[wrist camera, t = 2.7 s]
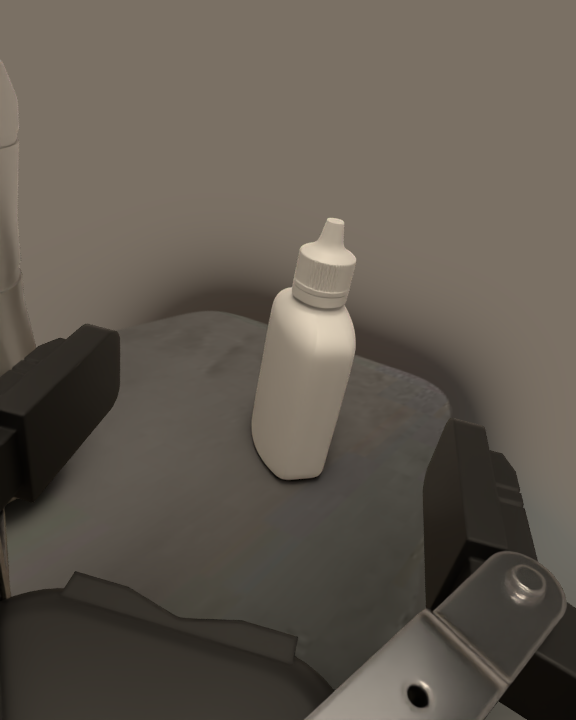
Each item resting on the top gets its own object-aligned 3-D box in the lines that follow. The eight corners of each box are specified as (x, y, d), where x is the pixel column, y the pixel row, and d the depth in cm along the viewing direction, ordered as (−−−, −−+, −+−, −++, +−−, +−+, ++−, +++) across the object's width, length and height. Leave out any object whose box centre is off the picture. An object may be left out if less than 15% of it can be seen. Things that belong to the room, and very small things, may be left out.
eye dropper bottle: (333, 423, 30) (392, 215, 24) (316, 494, 25) (384, 257, 19) (258, 402, 30) (297, 192, 24) (228, 468, 26) (266, 228, 19)
